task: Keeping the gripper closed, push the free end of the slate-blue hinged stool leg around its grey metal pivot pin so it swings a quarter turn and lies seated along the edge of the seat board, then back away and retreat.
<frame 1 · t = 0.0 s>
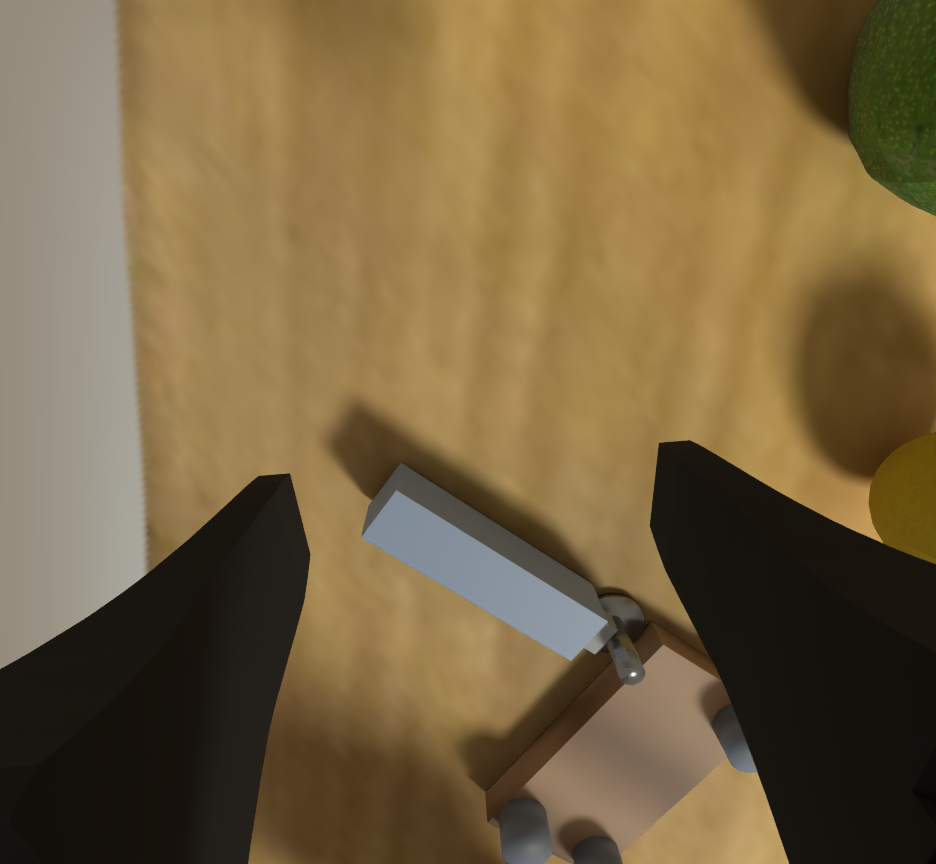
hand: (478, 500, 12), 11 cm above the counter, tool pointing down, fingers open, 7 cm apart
seat board: (617, 742, 28), on the counter
hinged leg: (498, 570, 23), point 1 cm above the counter, hinge at 0.0°
avocado: (904, 94, 20), on the counter
pivot pin: (610, 620, 26), on the counter
lemon: (890, 466, 24), on the counter
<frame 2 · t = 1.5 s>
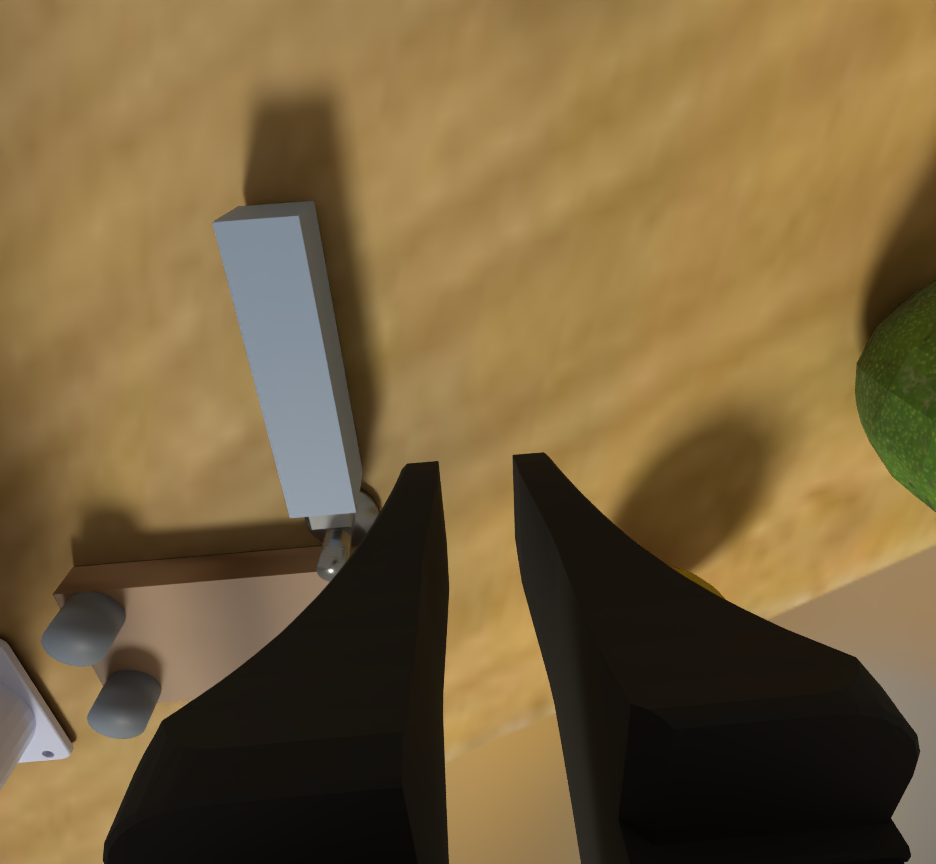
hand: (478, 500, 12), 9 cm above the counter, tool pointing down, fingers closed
seat board: (244, 613, 26), on the counter
hinged leg: (304, 386, 19), point 1 cm above the counter, hinge at 0.0°
avocado: (911, 340, 21), on the counter
pivot pin: (343, 513, 23), on the counter
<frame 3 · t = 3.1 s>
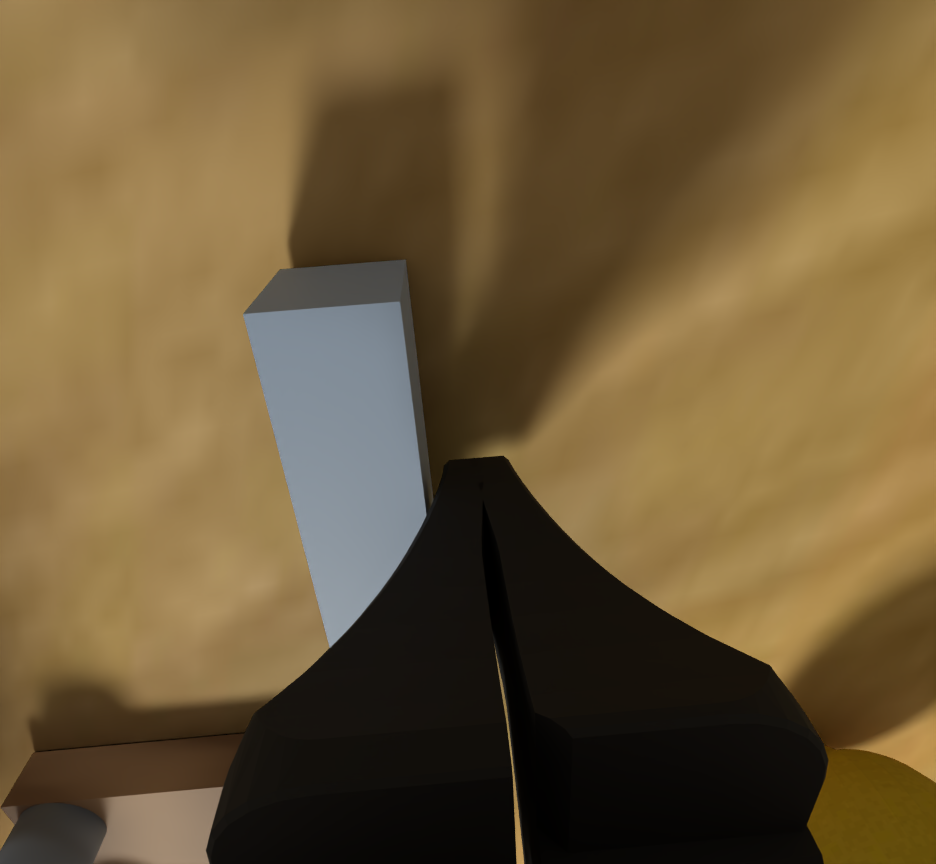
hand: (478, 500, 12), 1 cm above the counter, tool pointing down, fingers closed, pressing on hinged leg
seat board: (271, 798, 19), on the counter
hinged leg: (379, 543, 12), point 1 cm above the counter, hinge at 0.0°, touching gripper
lemon: (806, 739, 19), on the counter
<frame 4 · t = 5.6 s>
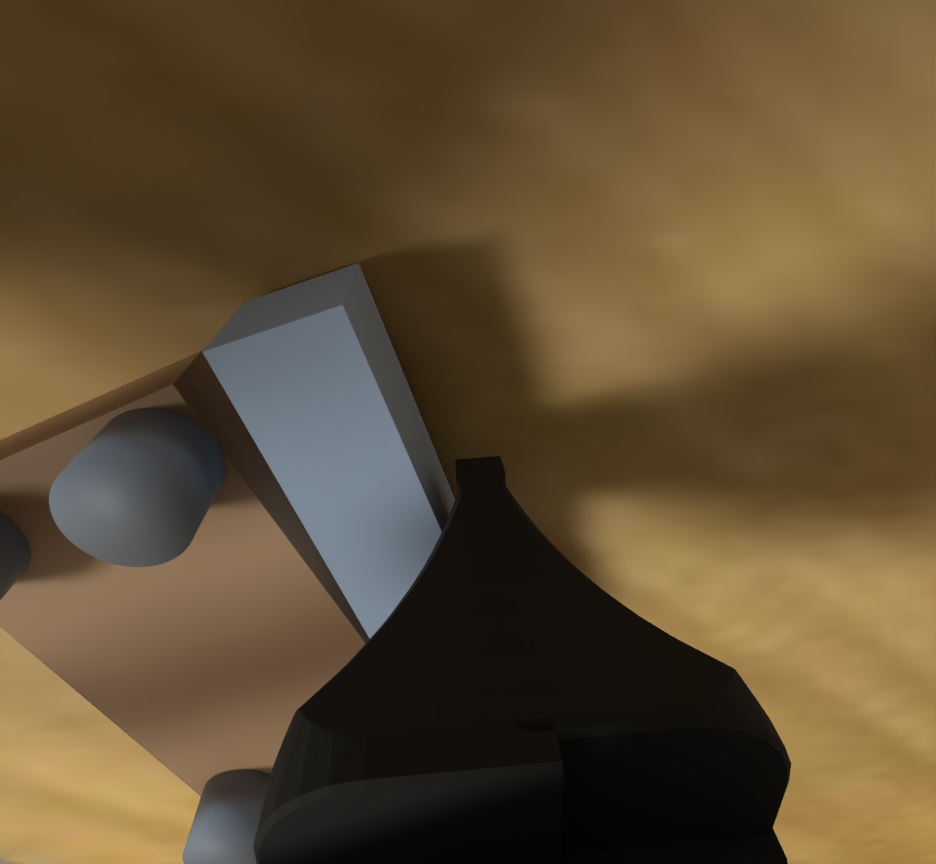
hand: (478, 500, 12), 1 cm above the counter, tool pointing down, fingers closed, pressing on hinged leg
seat board: (230, 609, 15), on the counter
hinged leg: (403, 542, 12), point 2 cm above the counter, hinge at 85.0°, touching gripper
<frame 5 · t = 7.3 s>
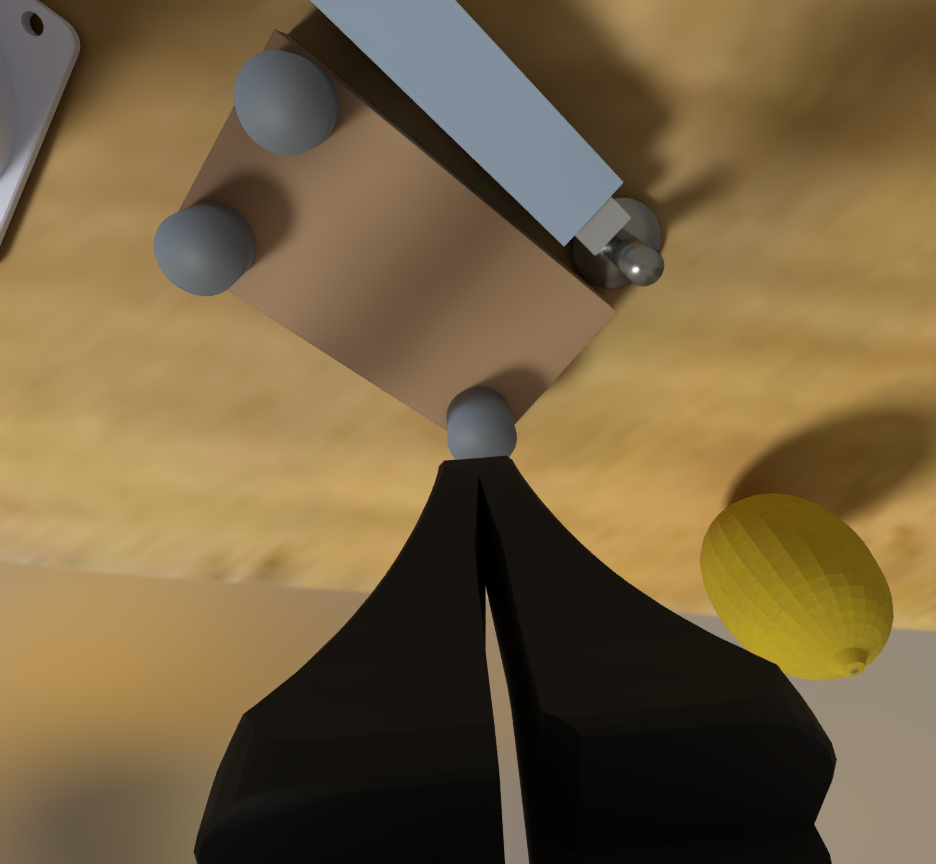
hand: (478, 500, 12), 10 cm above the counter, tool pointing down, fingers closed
seat board: (401, 268, 19), on the counter
hinged leg: (475, 97, 16), point 2 cm above the counter, hinge at 86.4°
pivot pin: (614, 242, 19), on the counter
lemon: (735, 508, 25), on the counter
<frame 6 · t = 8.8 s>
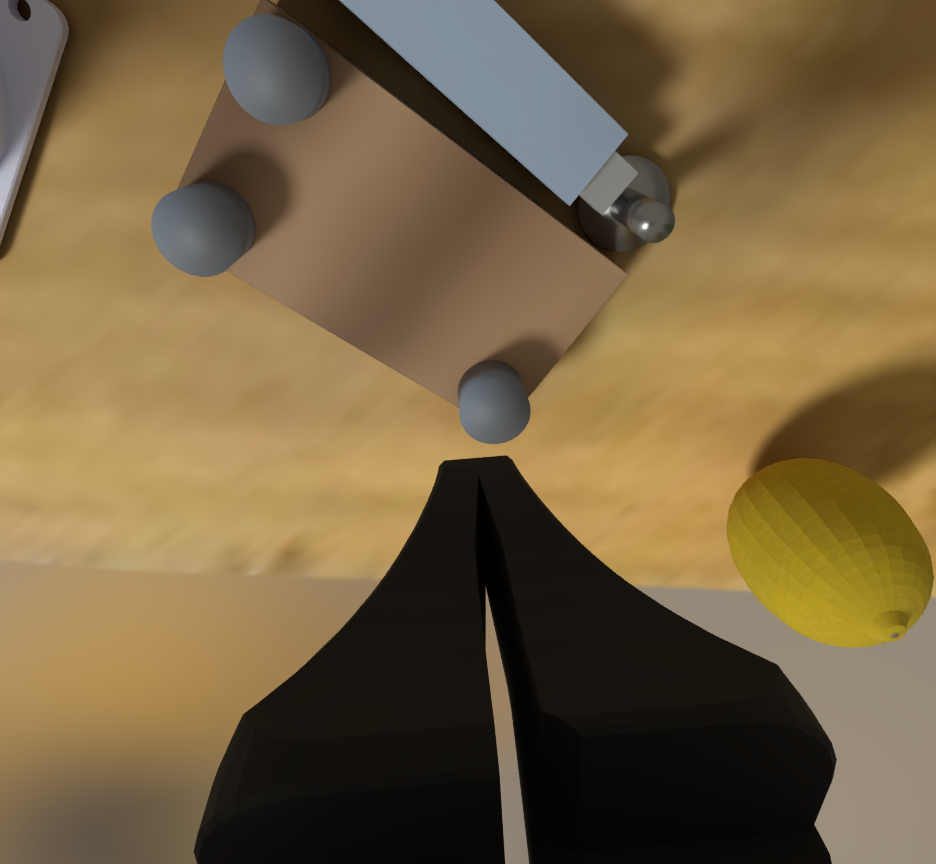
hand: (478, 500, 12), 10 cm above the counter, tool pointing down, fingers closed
seat board: (404, 242, 19), on the counter
hinged leg: (470, 55, 15), point 1 cm above the counter, hinge at 86.4°
pivot pin: (622, 203, 19), on the counter
lemon: (760, 478, 25), on the counter
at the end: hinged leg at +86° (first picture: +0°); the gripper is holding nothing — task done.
